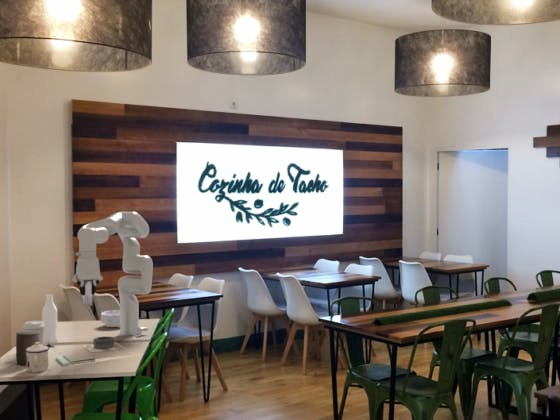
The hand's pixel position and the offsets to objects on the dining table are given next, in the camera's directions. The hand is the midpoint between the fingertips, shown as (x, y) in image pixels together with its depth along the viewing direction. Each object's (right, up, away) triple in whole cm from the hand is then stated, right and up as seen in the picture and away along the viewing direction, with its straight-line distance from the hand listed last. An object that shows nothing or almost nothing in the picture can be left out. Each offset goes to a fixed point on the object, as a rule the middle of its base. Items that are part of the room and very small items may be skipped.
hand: (87, 294), depth 296 cm
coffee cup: (-26, -29, +3) cm, 39 cm away
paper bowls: (-5, -27, +69) cm, 74 cm away
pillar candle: (-23, -29, -11) cm, 39 cm away
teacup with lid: (-14, -29, -24) cm, 41 cm away
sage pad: (-3, -28, -8) cm, 30 cm away
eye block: (+4, -28, +12) cm, 31 cm away
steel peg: (0, -5, 0) cm, 5 cm away
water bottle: (-25, -28, +22) cm, 44 cm away
